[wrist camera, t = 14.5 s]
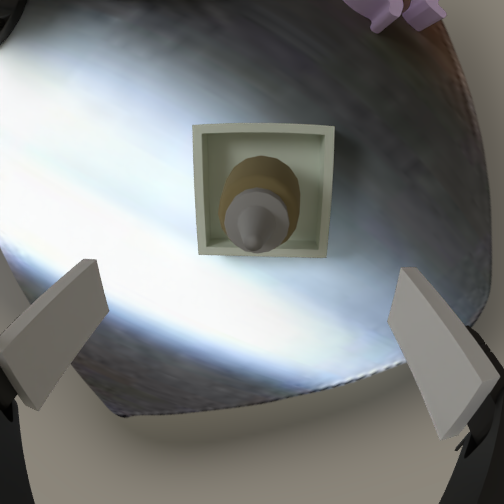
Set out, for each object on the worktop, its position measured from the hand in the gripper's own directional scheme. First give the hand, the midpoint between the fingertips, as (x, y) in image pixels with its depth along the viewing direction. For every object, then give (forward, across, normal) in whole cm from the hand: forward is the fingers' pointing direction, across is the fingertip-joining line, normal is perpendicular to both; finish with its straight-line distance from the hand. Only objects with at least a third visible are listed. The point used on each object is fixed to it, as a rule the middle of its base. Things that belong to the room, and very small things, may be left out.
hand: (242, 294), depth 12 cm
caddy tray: (+25, 0, 0) cm, 25 cm away
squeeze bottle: (+24, 0, 0) cm, 24 cm away
